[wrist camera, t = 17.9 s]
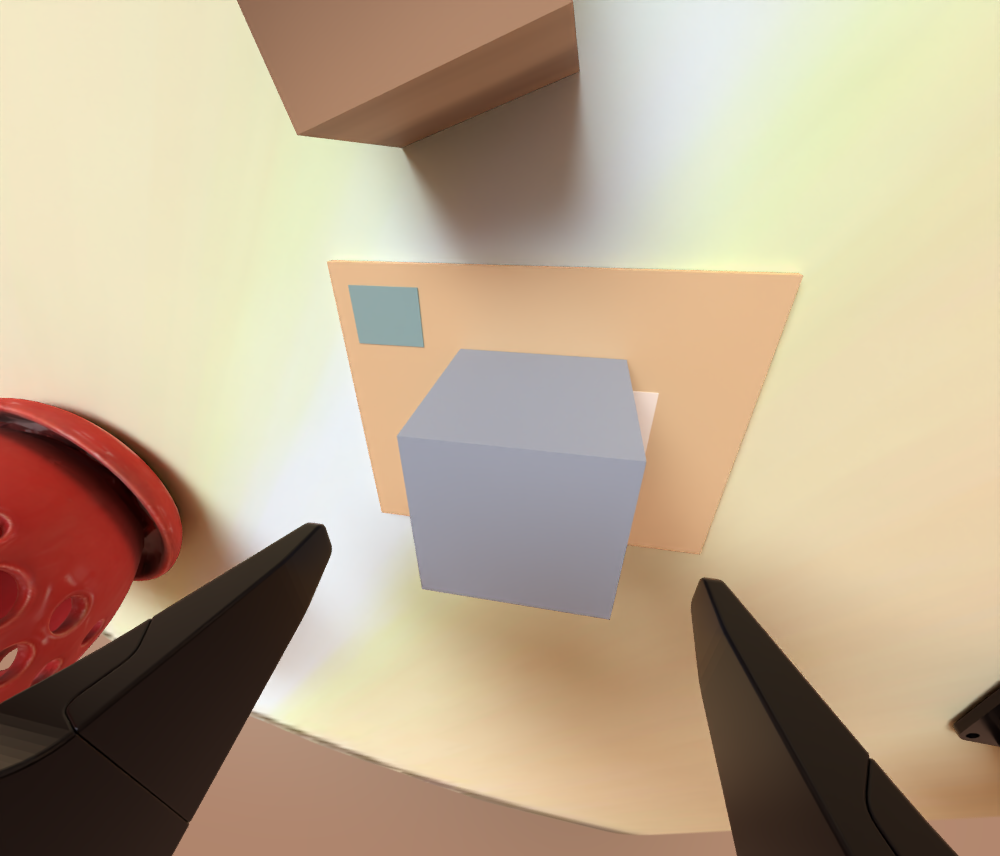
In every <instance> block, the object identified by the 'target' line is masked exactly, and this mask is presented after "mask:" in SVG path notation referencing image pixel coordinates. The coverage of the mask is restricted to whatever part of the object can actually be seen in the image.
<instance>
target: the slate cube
mask: <svg viewBox="0 0 1000 856" xmlns="http://www.w3.org/2000/svg"><path fill="white" fill-rule="evenodd" d="M397 440H398V446H399V452H400V458H401V464H402V470H403V476H404V482H405V488H406V494H407V500H408V507H409V513H410V519H411V525H412V531H413V537H414V543H415V549H416V555H417V561H418V567H419V573H420V579H421V585H422V589H426V590H432V591H438V592H444V593H450V594H456V595H462V596H469V597H475V598H481V599H487V600H493V601H499V602H505V603H511V604H517V605H524V606H530V607H536V608H542V609H548V610H554V611H560V612H566V613H572V614H579V615H585V616H591V617H597V618H603V619H609V620H610V616H611V612H612V608H613V603H614V599H615V595H616V591H617V586H618V582H619V578H620V573H621V569H622V565H623V560H624V556H625V552H626V548H627V543H628V539H629V535H630V530H631V526H632V522H633V518H634V513H635V509H636V505H637V500H638V496H639V492H640V487H641V483H642V479H643V475H644V470H645V466H646V456H645V451H644V446H643V441H642V436H641V431H640V426H639V420H638V415H637V410H636V405H635V400H634V395H633V390H632V384H631V379H630V374H629V369H628V364H627V360H623V359H608V358H593V357H578V356H562V355H547V354H532V353H517V352H502V351H486V350H471V349H460V350H459V351H458V353H457V354H456V355H455V357H454V358H453V359H452V361H451V362H450V364H449V365H448V366H447V368H446V369H445V370H444V372H443V373H442V375H441V376H440V377H439V379H438V380H437V381H436V383H435V384H434V386H433V387H432V388H431V390H430V391H429V392H428V394H427V395H426V397H425V398H424V399H423V401H422V402H421V403H420V405H419V406H418V407H417V409H416V410H415V412H414V413H413V414H412V416H411V417H410V418H409V420H408V421H407V423H406V424H405V425H404V427H403V428H402V429H401V431H400V432H399V434H398V435H397Z"/></svg>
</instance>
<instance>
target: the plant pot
mask: <svg viewBox="0 0 1000 856" xmlns="http://www.w3.org/2000/svg"><path fill="white" fill-rule="evenodd" d="M181 544H182V524H181V520H180V516H179V510H178V508H177V507H176V505H175V503H174V501H173V499H172V497H171V496H170V494H169V492H168V490H167V489H166V488H165V486H164V485H163V483H162V482H161V480H160V479H159V478H158V477H157V475H156V474H155V473H154V472H153V471H152V470H151V469H150V467H149V466H148V465H147V464H146V463H145V462H144V461H143V460H142V459H141V458H140V457H139V456H138V455H137V454H135V453H134V452H133V451H132V450H131V449H130V448H128V447H127V446H126V445H125V444H124V443H122V442H121V441H120V440H118V439H117V438H116V437H114V436H113V435H111V434H110V433H108V432H107V431H105V430H104V429H102V428H100V427H99V426H97V425H95V424H93V423H91V422H90V421H88V420H86V419H84V418H82V417H80V416H78V415H76V414H73V413H71V412H68V411H66V410H63V409H60V408H57V407H54V406H51V405H47V404H43V403H40V402H35V401H29V400H24V399H14V398H0V662H1V661H2V659H3V658H4V657H5V656H6V655H7V654H8V653H9V652H11V651H12V650H14V649H16V648H18V652H17V655H16V658H15V660H14V661H13V663H12V665H11V666H10V667H9V668H8V669H5V670H1V671H0V703H1V702H3V701H5V700H7V699H9V698H10V697H12V696H14V695H16V694H18V693H20V692H22V691H23V690H25V689H27V688H29V687H31V686H33V685H34V684H36V683H38V682H40V681H42V680H44V679H46V678H47V677H49V676H51V675H53V674H55V673H57V672H58V671H60V670H62V669H64V668H66V667H68V666H69V665H71V664H73V663H75V662H77V660H78V659H79V658H80V657H81V656H82V655H83V654H84V652H85V651H86V650H87V649H88V648H89V647H90V646H91V645H92V643H93V642H94V641H95V640H96V639H97V638H98V637H99V635H100V634H101V633H102V632H103V630H104V629H105V628H106V626H107V625H108V624H109V622H110V621H111V620H112V618H113V616H114V615H115V613H116V612H117V610H118V609H119V607H120V605H121V604H122V602H123V600H124V598H125V596H126V594H127V593H128V591H129V589H130V586H131V584H132V582H133V581H143V580H150V579H154V578H157V577H160V576H161V575H163V574H165V573H166V572H167V571H169V570H170V568H171V567H172V566H173V564H174V563H175V561H176V559H177V557H178V555H179V552H180V549H181Z"/></svg>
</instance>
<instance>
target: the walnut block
mask: <svg viewBox="0 0 1000 856" xmlns="http://www.w3.org/2000/svg"><path fill="white" fill-rule="evenodd" d="M237 2H238V4H239V6H240V8H241V10H242V13H243V15H244V17H245V19H246V22H247V24H248V26H249V28H250V31H251V33H252V35H253V37H254V39H255V42H256V44H257V46H258V48H259V51H260V53H261V55H262V57H263V60H264V62H265V64H266V66H267V68H268V71H269V73H270V75H271V77H272V80H273V82H274V84H275V86H276V88H277V91H278V93H279V95H280V97H281V100H282V102H283V104H284V106H285V109H286V111H287V113H288V115H289V117H290V120H291V122H292V124H293V126H294V129H295V131H296V133H297V135H301V136H309V137H317V138H326V139H334V140H342V141H350V142H359V143H367V144H375V145H383V146H391V147H400V148H402V147H405V146H407V145H409V144H412V143H414V142H416V141H419V140H421V139H423V138H426V137H428V136H430V135H432V134H435V133H437V132H439V131H442V130H444V129H446V128H449V127H451V126H453V125H456V124H458V123H460V122H463V121H465V120H467V119H470V118H472V117H474V116H477V115H479V114H481V113H484V112H486V111H488V110H491V109H493V108H495V107H498V106H500V105H502V104H505V103H507V102H509V101H512V100H514V99H516V98H519V97H521V96H523V95H526V94H528V93H530V92H533V91H535V90H537V89H540V88H542V87H544V86H546V85H549V84H551V83H553V82H556V81H558V80H560V79H563V78H565V77H567V76H570V75H572V74H574V73H577V72H579V71H580V70H579V60H578V50H577V39H576V29H575V18H574V8H573V0H237Z"/></svg>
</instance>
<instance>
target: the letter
mask: <svg viewBox="0 0 1000 856" xmlns="http://www.w3.org/2000/svg"><path fill="white" fill-rule="evenodd" d="M327 264H328V269H329V273H330V278H331V283H332V287H333V292H334V296H335V301H336V305H337V310H338V314H339V319H340V324H341V328H342V333H343V337H344V342H345V346H346V351H347V356H348V360H349V365H350V369H351V374H352V378H353V383H354V387H355V392H356V397H357V401H358V406H359V410H360V415H361V419H362V424H363V429H364V433H365V438H366V442H367V447H368V451H369V456H370V460H371V465H372V470H373V474H374V479H375V483H376V488H377V492H378V497H379V502H380V506H381V511H382V512H383V513H391V514H398V515H406V516H410V513H409V507H408V500H407V494H406V488H405V482H404V476H403V470H402V464H401V458H400V452H399V446H398V440H397V435H398V434H399V432H400V431H401V429H402V428H403V427H404V425H405V424H406V423H407V421H408V420H409V418H410V417H411V416H412V414H413V413H414V412H415V410H416V409H417V407H418V406H419V405H420V403H421V402H422V401H423V399H424V398H425V397H426V395H427V394H428V392H429V391H430V390H431V388H432V387H433V386H434V384H435V383H436V381H437V380H438V379H439V377H440V376H441V375H442V373H443V372H444V370H445V369H446V368H447V366H448V365H449V364H450V362H451V361H452V359H453V358H454V357H455V355H456V354H457V353H458V351H459V350H460V349H471V350H486V351H502V352H517V353H532V354H547V355H562V356H578V357H593V358H608V359H623V360H627V364H628V369H629V374H630V379H631V384H632V390H633V395H634V400H635V405H636V410H637V415H638V420H639V426H640V431H641V436H642V441H643V446H644V451H645V456H646V466H645V470H644V475H643V479H642V483H641V487H640V492H639V496H638V500H637V505H636V509H635V513H634V518H633V522H632V526H631V530H630V535H629V539H628V543H627V545H633V546H640V547H648V548H655V549H663V550H671V551H678V552H686V553H693V554H700V553H701V550H702V548H703V545H704V542H705V540H706V537H707V534H708V531H709V529H710V526H711V523H712V521H713V518H714V515H715V512H716V510H717V507H718V504H719V502H720V499H721V496H722V494H723V491H724V488H725V485H726V483H727V480H728V477H729V475H730V472H731V469H732V467H733V464H734V461H735V458H736V456H737V453H738V450H739V448H740V445H741V442H742V440H743V437H744V434H745V431H746V429H747V426H748V423H749V421H750V418H751V415H752V413H753V410H754V407H755V404H756V402H757V399H758V396H759V394H760V391H761V388H762V386H763V383H764V380H765V377H766V375H767V372H768V369H769V367H770V364H771V361H772V359H773V356H774V353H775V350H776V348H777V345H778V342H779V340H780V337H781V334H782V332H783V329H784V326H785V323H786V321H787V318H788V315H789V313H790V310H791V307H792V304H793V302H794V299H795V296H796V294H797V291H798V288H799V286H800V283H801V280H802V277H803V275H801V274H799V273H773V272H737V271H701V270H665V269H630V268H594V267H558V266H522V265H486V264H450V263H415V262H379V261H343V260H331V261H328V262H327Z"/></svg>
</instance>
